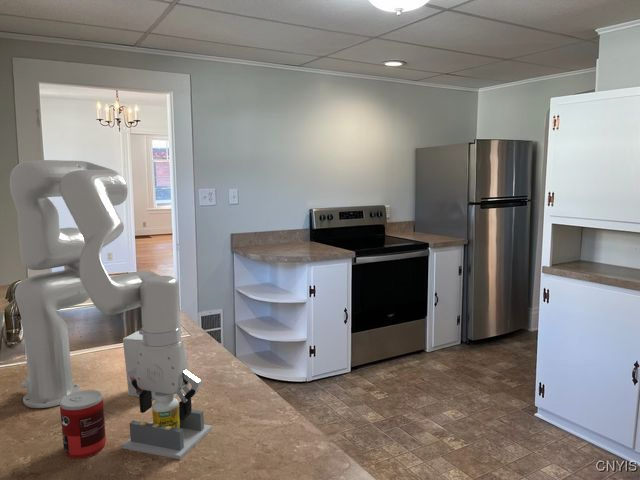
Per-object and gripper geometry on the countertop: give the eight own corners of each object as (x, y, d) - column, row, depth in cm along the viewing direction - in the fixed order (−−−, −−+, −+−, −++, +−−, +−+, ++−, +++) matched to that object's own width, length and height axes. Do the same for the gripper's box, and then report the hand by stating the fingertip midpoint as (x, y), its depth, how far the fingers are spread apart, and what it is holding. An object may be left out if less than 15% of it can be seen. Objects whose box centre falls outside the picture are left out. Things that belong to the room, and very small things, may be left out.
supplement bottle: (175, 425, 107) (173, 384, 106) (183, 436, 103) (181, 393, 101) (150, 432, 104) (148, 390, 103) (157, 444, 100) (155, 400, 98)
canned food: (73, 439, 104) (68, 390, 102) (111, 437, 104) (108, 388, 103) (57, 460, 96) (52, 408, 94) (98, 458, 97) (94, 405, 95)
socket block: (121, 448, 100) (120, 425, 99) (158, 419, 111) (156, 399, 111) (180, 459, 96) (179, 436, 95) (212, 429, 107) (211, 407, 106)
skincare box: (169, 389, 127) (166, 332, 125) (153, 401, 121) (149, 340, 118) (143, 385, 129) (139, 329, 127) (126, 396, 123) (121, 337, 121)
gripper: (114, 337, 99) (119, 415, 102) (188, 347, 94) (191, 429, 97) (138, 326, 107) (142, 399, 109) (208, 334, 101) (210, 411, 104)
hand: (165, 413), depth 103 cm, fingers open, 9 cm apart
